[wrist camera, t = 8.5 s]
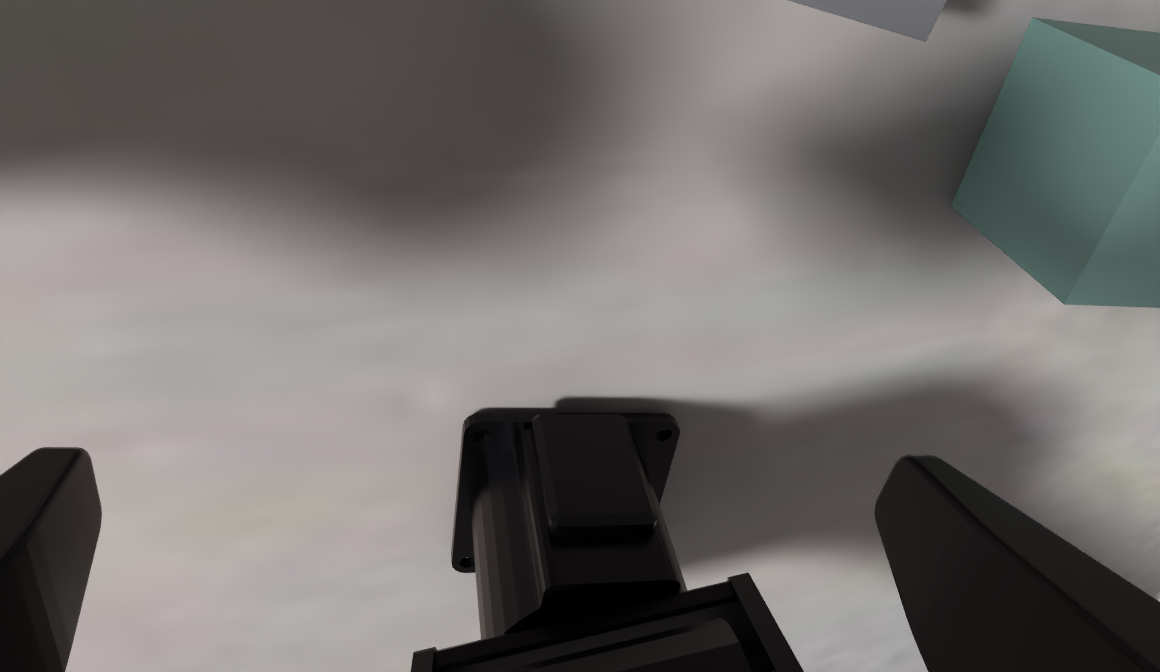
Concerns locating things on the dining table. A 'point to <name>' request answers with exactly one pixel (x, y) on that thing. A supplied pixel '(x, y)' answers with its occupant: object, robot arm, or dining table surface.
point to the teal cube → (1075, 164)
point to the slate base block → (886, 13)
